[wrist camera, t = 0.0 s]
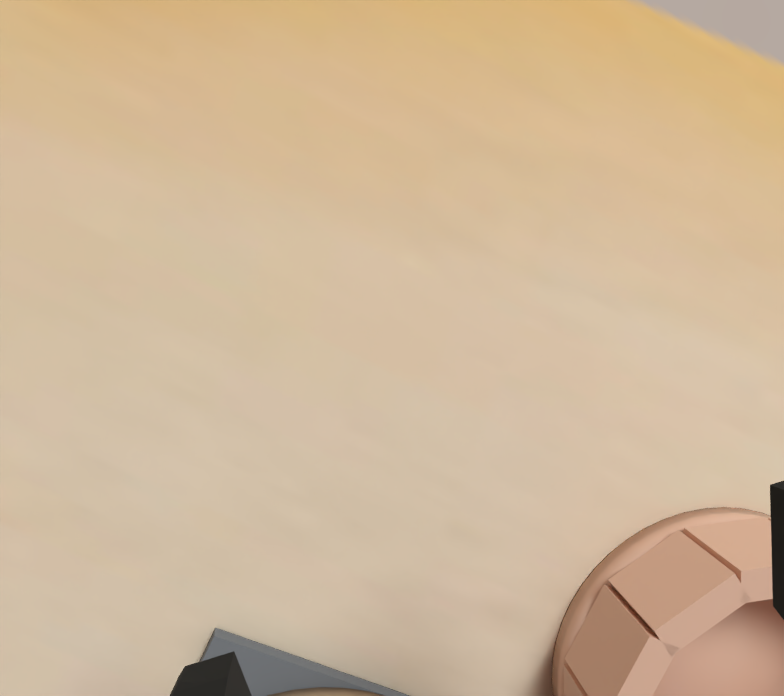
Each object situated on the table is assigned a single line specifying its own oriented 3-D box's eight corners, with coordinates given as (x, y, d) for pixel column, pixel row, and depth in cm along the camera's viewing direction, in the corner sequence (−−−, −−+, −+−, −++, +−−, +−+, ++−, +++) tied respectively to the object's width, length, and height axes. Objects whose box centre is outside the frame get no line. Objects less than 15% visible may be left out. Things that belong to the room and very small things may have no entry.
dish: (750, 829, 23) (831, 935, 20) (497, 742, 21) (537, 843, 18) (897, 574, 22) (1010, 638, 19) (647, 458, 20) (720, 505, 17)
